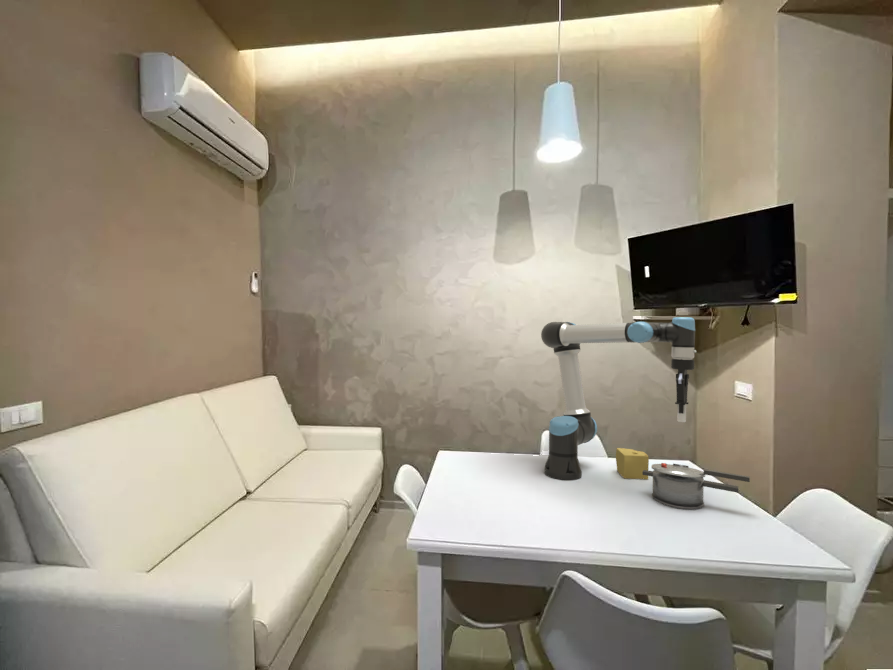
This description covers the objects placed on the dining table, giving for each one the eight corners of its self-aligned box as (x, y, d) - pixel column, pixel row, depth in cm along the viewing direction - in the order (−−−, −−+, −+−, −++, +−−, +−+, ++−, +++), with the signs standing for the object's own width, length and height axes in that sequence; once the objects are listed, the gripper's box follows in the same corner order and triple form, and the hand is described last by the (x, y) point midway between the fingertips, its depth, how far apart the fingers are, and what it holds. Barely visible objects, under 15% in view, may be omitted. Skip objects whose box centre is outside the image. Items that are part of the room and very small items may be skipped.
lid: (647, 471, 153) (647, 464, 153) (656, 464, 168) (656, 457, 168) (749, 489, 136) (749, 481, 136) (749, 479, 151) (749, 472, 151)
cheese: (640, 471, 186) (640, 448, 186) (649, 480, 176) (650, 455, 175) (615, 470, 187) (615, 447, 187) (622, 479, 177) (623, 454, 176)
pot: (638, 500, 155) (638, 475, 155) (647, 485, 169) (647, 462, 169) (737, 521, 138) (738, 493, 138) (738, 503, 153) (738, 478, 152)
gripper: (691, 360, 154) (690, 426, 155) (696, 358, 165) (695, 420, 165) (668, 358, 159) (667, 423, 159) (674, 357, 169) (673, 417, 170)
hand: (681, 421), depth 162 cm, fingers closed
